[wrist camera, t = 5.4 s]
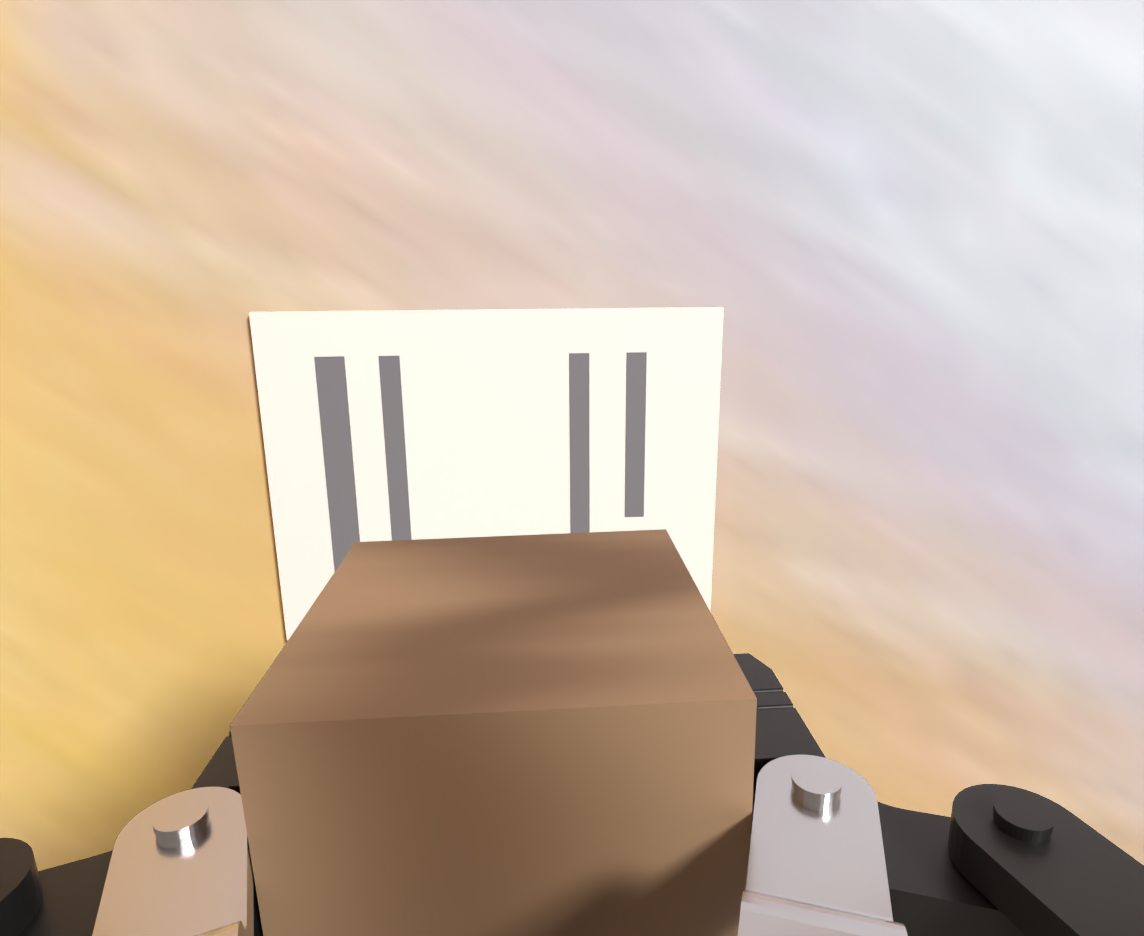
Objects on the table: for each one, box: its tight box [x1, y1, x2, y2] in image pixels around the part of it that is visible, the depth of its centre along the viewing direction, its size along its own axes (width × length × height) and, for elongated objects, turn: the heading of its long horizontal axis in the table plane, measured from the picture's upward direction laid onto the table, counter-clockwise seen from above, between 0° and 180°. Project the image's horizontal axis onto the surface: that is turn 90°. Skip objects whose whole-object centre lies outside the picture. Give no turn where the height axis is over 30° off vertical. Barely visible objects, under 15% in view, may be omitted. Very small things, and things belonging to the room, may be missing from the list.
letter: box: [249, 307, 724, 640], centre depth 26 cm, size 16×12×1 cm
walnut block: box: [230, 529, 757, 936], centre depth 10 cm, size 5×5×5 cm
